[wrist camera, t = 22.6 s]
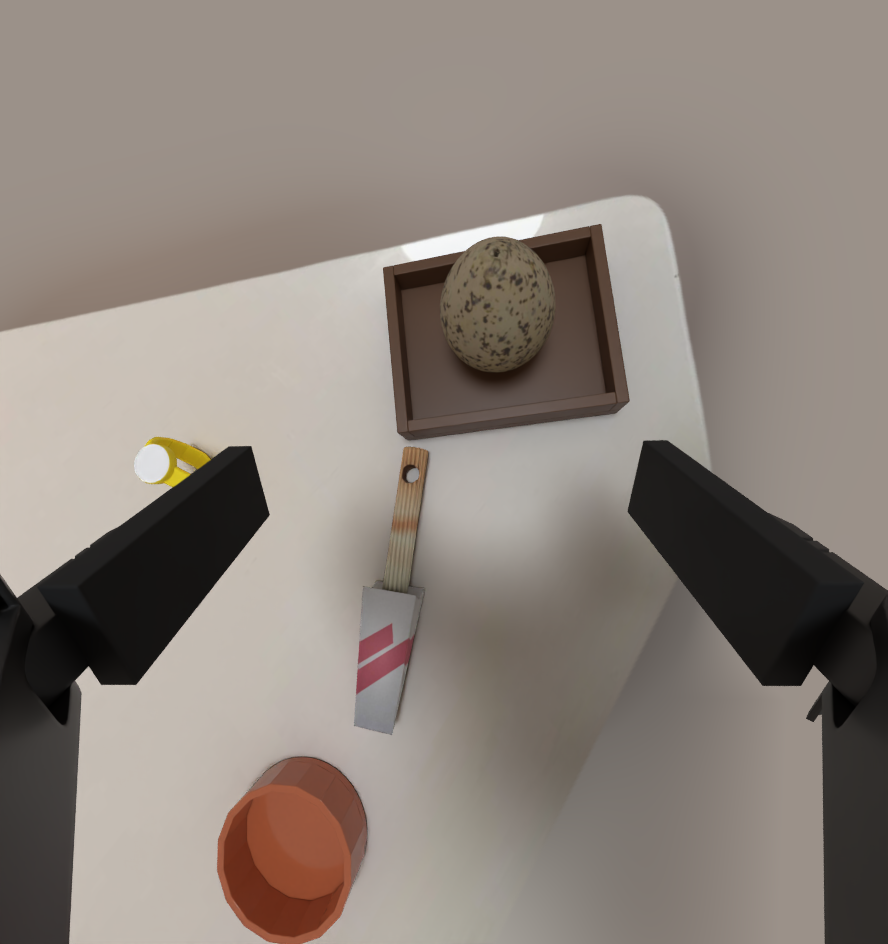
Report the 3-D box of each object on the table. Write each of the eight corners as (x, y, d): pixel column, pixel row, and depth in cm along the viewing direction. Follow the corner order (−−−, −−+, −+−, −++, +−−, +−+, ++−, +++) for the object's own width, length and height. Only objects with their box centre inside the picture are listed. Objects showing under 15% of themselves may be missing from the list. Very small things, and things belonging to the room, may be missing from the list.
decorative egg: (547, 293, 28) (571, 177, 18) (546, 388, 27) (570, 320, 18) (451, 299, 29) (425, 192, 19) (448, 389, 28) (419, 327, 19)
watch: (181, 462, 33) (110, 452, 27) (200, 436, 33) (134, 420, 27) (227, 505, 31) (165, 504, 26) (247, 479, 31) (189, 472, 26)
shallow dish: (394, 835, 27) (380, 874, 24) (304, 928, 27) (280, 979, 24) (305, 728, 29) (283, 753, 26) (222, 817, 29) (191, 852, 26)
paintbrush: (337, 735, 25) (387, 442, 27) (353, 715, 28) (398, 450, 30) (392, 750, 24) (439, 448, 27) (403, 727, 27) (445, 455, 30)
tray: (591, 252, 29) (601, 223, 26) (616, 413, 27) (630, 401, 24) (394, 290, 31) (382, 267, 28) (407, 440, 30) (397, 433, 27)
